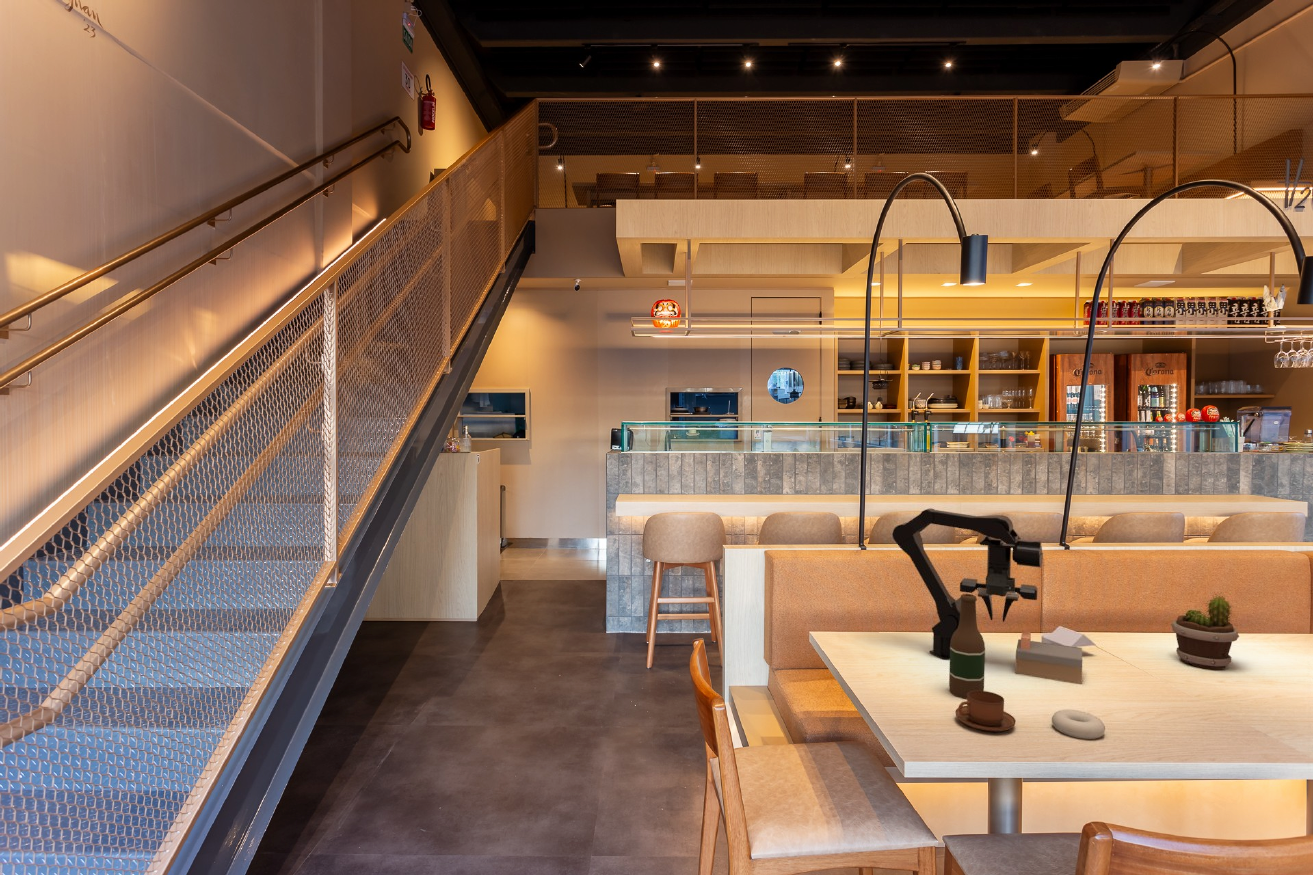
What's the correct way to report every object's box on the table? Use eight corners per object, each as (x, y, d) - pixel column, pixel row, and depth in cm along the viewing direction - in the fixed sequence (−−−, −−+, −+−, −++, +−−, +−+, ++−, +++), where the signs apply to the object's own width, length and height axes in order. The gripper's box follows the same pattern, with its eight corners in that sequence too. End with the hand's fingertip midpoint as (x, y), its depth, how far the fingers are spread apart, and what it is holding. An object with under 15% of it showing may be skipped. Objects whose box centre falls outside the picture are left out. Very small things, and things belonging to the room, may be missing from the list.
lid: (1015, 657, 194) (1016, 639, 194) (1018, 645, 205) (1018, 628, 204) (1082, 667, 187) (1082, 648, 187) (1081, 654, 197) (1082, 636, 197)
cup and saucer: (989, 740, 155) (990, 711, 155) (943, 719, 166) (943, 691, 166) (1027, 729, 161) (1028, 701, 160) (980, 709, 171) (981, 683, 171)
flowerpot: (1179, 669, 200) (1181, 594, 199) (1164, 652, 214) (1166, 582, 214) (1245, 676, 195) (1248, 600, 194) (1226, 658, 209) (1228, 587, 208)
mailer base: (1015, 673, 195) (1016, 653, 195) (1017, 662, 204) (1018, 643, 204) (1081, 683, 188) (1082, 662, 188) (1081, 672, 197) (1081, 652, 197)
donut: (1070, 719, 167) (1041, 726, 162) (1071, 704, 167) (1041, 710, 162) (1115, 737, 158) (1085, 745, 153) (1116, 720, 158) (1086, 728, 153)
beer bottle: (982, 690, 183) (984, 592, 182) (985, 701, 176) (987, 600, 175) (948, 686, 186) (950, 590, 185) (949, 697, 178) (951, 597, 178)
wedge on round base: (1095, 656, 210) (1059, 642, 222) (1096, 633, 210) (1059, 620, 222) (1069, 659, 207) (1034, 645, 220) (1070, 635, 207) (1034, 622, 220)
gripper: (957, 564, 199) (956, 622, 199) (1036, 572, 190) (1035, 633, 190) (963, 557, 208) (961, 613, 209) (1038, 564, 199) (1036, 622, 200)
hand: (997, 620), depth 202 cm, fingers open, 3 cm apart
